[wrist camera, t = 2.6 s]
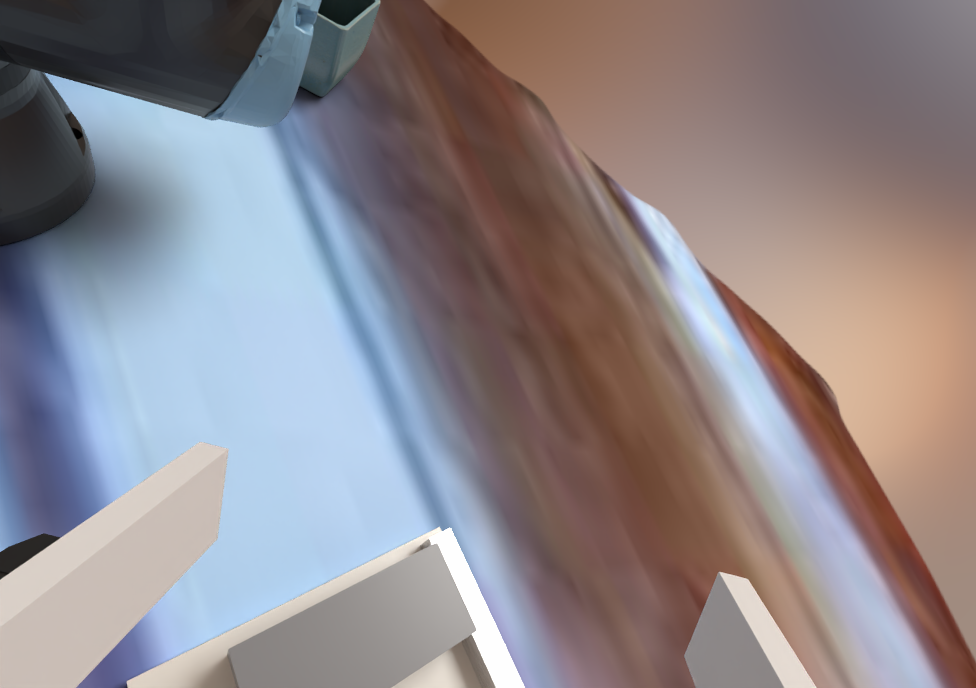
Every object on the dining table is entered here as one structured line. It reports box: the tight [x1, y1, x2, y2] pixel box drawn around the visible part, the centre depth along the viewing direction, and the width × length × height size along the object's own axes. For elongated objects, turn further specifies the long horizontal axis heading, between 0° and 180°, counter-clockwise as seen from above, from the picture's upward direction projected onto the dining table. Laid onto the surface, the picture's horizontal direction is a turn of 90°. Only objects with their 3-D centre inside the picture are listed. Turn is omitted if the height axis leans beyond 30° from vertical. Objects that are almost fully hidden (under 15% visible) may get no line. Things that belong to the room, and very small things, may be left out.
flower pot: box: [299, 0, 380, 97], centre depth 51 cm, size 9×9×9 cm
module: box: [227, 542, 477, 688], centre depth 27 cm, size 11×5×4 cm, turn 120°
